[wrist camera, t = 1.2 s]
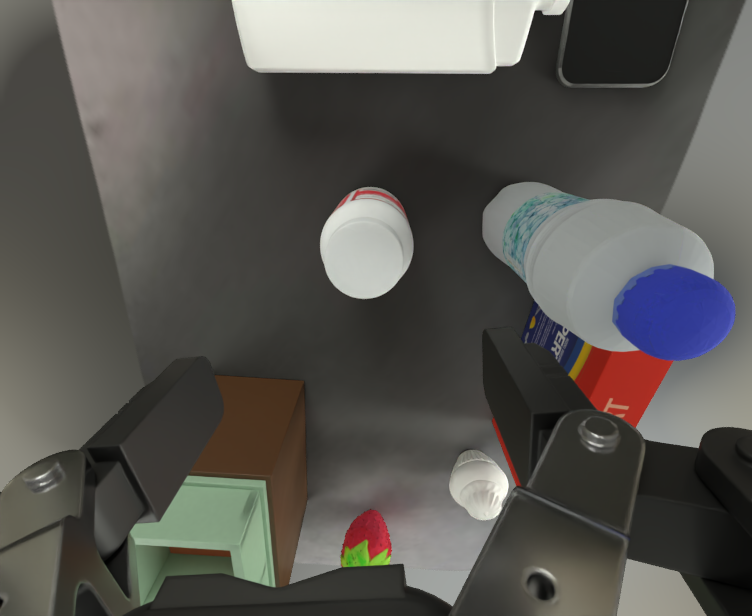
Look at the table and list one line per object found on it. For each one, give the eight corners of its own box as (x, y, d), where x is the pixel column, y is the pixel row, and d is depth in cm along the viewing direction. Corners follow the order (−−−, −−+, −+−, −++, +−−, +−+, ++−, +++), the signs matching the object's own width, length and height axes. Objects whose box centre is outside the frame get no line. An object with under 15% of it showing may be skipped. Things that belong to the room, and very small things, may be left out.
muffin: (454, 434, 40) (466, 489, 34) (506, 444, 41) (529, 500, 34) (437, 473, 43) (446, 531, 37) (487, 483, 43) (505, 541, 37)
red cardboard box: (527, 425, 40) (578, 528, 29) (491, 421, 39) (530, 522, 29) (591, 269, 32) (691, 330, 22) (547, 262, 32) (626, 321, 22)
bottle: (491, 270, 33) (624, 432, 14) (461, 201, 30) (575, 292, 12) (565, 235, 31) (820, 366, 13) (540, 160, 29) (809, 190, 10)
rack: (208, 374, 38) (90, 527, 23) (304, 380, 38) (249, 537, 23) (227, 495, 45) (147, 671, 30) (307, 500, 45) (267, 679, 30)
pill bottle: (352, 268, 33) (337, 324, 23) (322, 203, 31) (291, 233, 20) (417, 243, 32) (432, 289, 22) (391, 173, 29) (394, 189, 19)
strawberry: (341, 529, 47) (330, 621, 38) (350, 489, 44) (340, 579, 35) (384, 535, 48) (384, 628, 39) (397, 497, 45) (399, 588, 36)
